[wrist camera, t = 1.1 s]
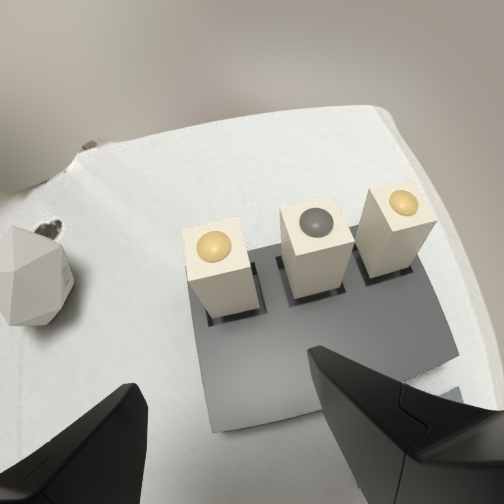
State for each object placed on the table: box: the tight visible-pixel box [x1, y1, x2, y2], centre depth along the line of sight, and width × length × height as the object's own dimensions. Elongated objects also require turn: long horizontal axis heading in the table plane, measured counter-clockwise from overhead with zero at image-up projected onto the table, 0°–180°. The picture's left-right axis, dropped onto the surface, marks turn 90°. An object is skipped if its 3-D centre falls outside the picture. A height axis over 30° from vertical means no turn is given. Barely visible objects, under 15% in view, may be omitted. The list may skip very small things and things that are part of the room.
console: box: [185, 225, 459, 433], centre depth 21 cm, size 12×17×3 cm
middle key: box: [279, 195, 355, 299], centre depth 19 cm, size 3×3×6 cm
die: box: [0, 225, 75, 326], centre depth 23 cm, size 8×9×10 cm
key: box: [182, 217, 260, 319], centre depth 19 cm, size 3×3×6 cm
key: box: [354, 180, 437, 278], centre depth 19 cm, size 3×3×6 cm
